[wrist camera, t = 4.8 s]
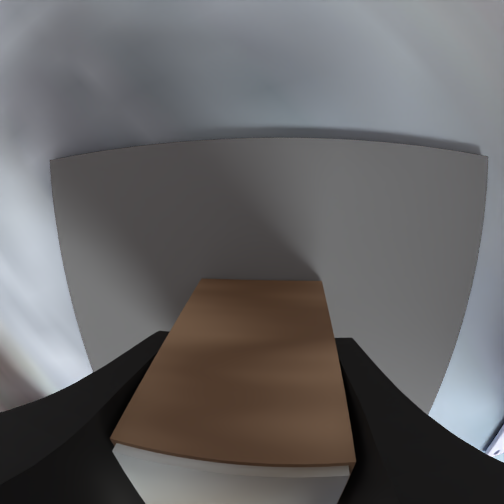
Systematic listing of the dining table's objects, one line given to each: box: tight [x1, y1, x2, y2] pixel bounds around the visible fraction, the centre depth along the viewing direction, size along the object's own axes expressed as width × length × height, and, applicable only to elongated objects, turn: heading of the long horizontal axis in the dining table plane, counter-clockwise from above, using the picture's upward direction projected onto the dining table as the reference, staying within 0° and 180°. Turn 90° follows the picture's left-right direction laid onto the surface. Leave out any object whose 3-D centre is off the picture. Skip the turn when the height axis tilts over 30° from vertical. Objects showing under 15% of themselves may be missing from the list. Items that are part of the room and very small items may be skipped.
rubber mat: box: [50, 138, 488, 415], centre depth 11 cm, size 16×12×1 cm
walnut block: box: [110, 279, 356, 504], centre depth 8 cm, size 4×4×7 cm
